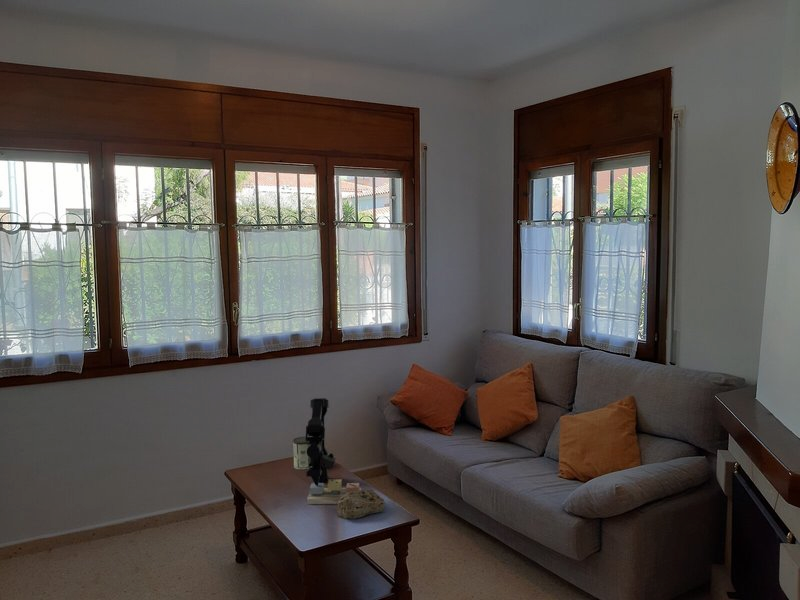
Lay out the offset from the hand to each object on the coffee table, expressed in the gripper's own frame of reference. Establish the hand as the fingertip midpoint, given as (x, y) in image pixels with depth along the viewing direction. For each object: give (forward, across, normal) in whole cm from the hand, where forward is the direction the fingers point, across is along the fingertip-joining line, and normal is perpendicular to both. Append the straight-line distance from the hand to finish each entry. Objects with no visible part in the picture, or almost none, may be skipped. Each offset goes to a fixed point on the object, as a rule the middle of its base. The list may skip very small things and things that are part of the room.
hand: (316, 484), depth 290 cm
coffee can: (+7, +43, +13) cm, 45 cm away
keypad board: (+6, 0, -8) cm, 10 cm away
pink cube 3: (+6, 0, -16) cm, 17 cm away
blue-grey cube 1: (+6, 0, 0) cm, 6 cm away
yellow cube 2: (+4, 0, -8) cm, 9 cm away
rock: (+7, -16, -21) cm, 27 cm away
